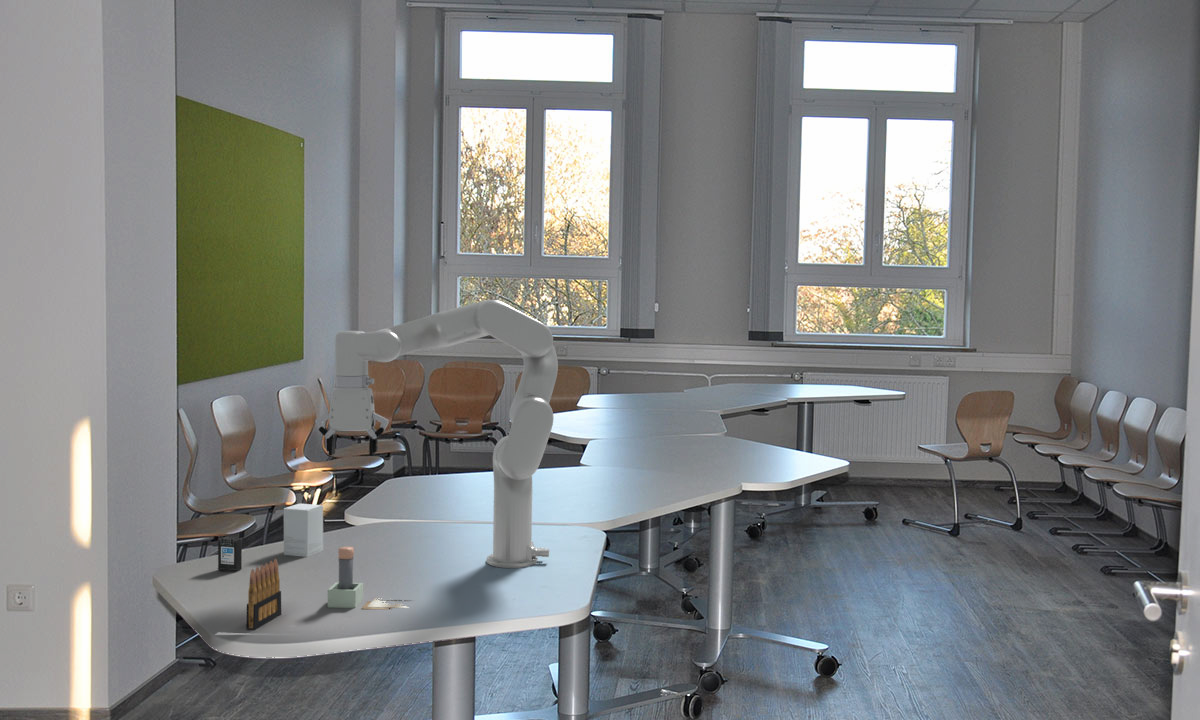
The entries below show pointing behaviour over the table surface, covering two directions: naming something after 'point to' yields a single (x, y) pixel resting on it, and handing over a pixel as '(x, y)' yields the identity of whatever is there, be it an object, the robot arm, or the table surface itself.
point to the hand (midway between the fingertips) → (352, 454)
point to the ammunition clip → (263, 596)
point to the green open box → (345, 596)
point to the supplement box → (303, 529)
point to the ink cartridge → (230, 554)
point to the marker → (346, 567)
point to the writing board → (382, 604)
